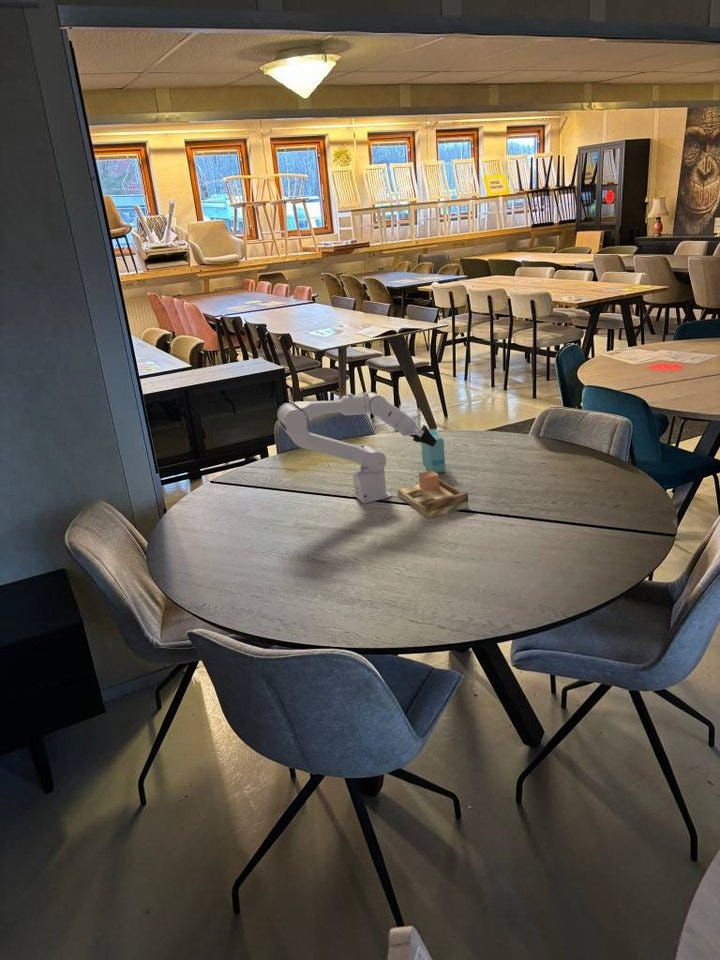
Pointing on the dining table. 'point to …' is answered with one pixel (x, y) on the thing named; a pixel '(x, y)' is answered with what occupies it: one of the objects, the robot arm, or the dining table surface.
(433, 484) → the block
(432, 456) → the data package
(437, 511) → the trap board
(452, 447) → the dining table surface
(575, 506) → the dining table surface
